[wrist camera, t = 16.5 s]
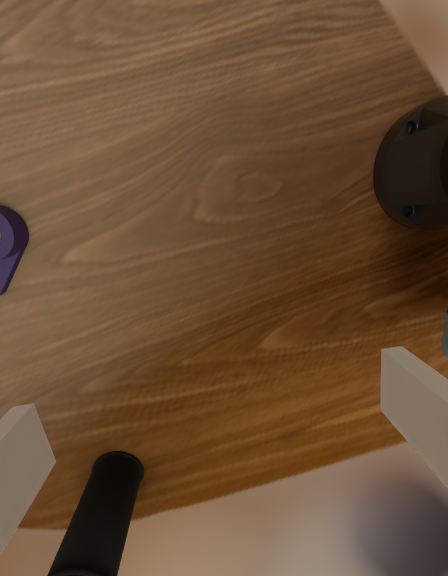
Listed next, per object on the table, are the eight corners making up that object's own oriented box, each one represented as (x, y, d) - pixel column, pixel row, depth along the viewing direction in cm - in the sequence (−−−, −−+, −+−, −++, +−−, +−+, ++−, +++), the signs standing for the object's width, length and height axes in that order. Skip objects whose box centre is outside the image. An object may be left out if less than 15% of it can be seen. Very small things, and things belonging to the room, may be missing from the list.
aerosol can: (84, 457, 46) (-3, 638, 27) (134, 445, 46) (82, 618, 27) (103, 495, 48) (34, 686, 29) (150, 483, 48) (112, 667, 29)
